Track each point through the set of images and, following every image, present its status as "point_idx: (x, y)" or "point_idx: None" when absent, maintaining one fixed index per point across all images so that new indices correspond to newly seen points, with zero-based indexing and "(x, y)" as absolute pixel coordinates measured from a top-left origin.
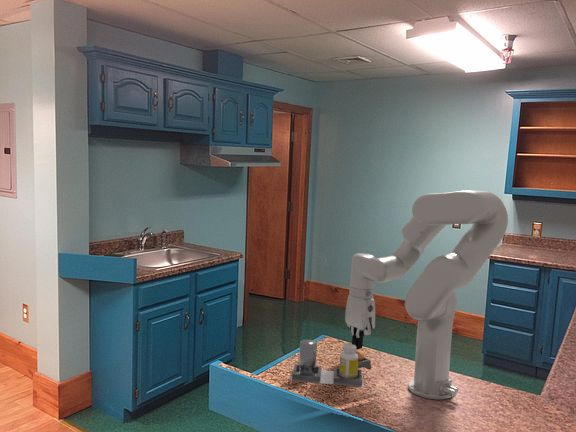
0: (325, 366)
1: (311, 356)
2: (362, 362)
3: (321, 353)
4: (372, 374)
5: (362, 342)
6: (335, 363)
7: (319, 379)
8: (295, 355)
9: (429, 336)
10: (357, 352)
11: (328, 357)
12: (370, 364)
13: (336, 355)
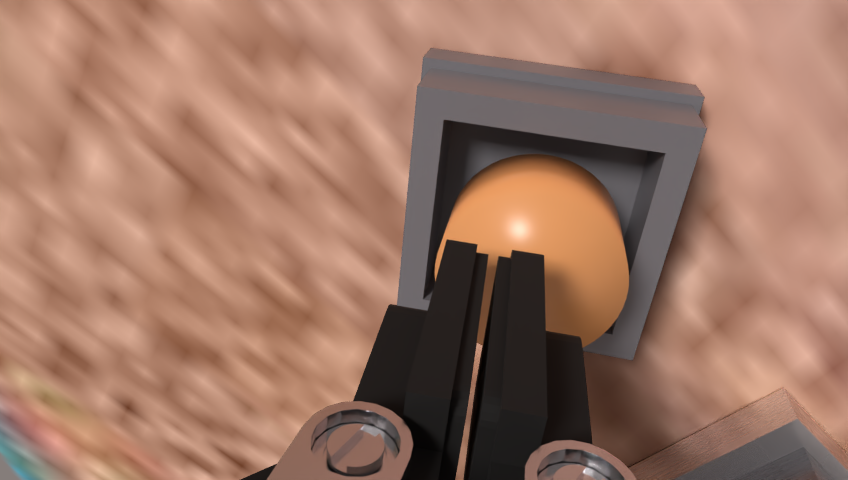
0: None
1: None
2: (657, 276)
3: (19, 213)
4: (834, 238)
5: (542, 318)
6: (325, 308)
7: None
8: (17, 423)
9: None
10: None
11: (148, 240)
12: (693, 107)
13: (120, 119)
